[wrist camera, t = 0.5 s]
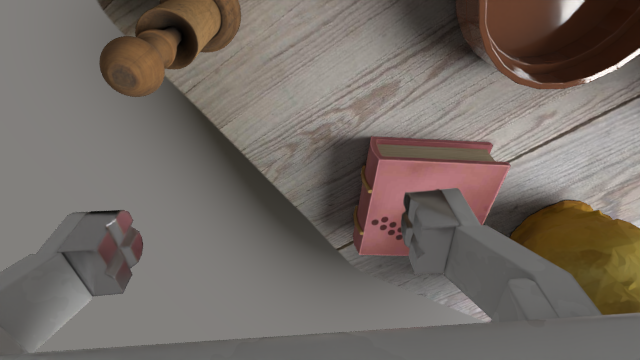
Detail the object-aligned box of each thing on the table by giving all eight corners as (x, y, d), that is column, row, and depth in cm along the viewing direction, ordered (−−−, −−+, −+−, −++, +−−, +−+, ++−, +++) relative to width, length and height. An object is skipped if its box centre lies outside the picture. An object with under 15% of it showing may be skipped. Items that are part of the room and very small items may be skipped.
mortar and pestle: (255, 7, 32) (216, 73, 17) (216, 60, 35) (153, 156, 20) (191, -52, 29) (79, -32, 15) (154, 11, 32) (28, 81, 17)
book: (364, 135, 40) (370, 159, 36) (490, 142, 41) (510, 165, 37) (348, 227, 49) (352, 254, 45) (454, 230, 50) (467, 257, 46)
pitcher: (646, 219, 49) (861, 425, 29) (533, 286, 59) (638, 475, 39) (571, 165, 44) (772, 373, 24) (461, 248, 54) (539, 445, 34)
